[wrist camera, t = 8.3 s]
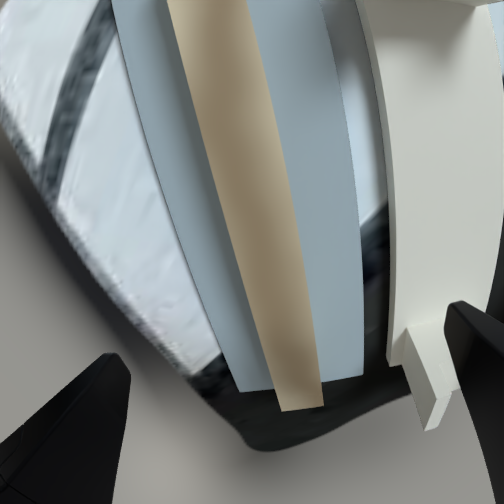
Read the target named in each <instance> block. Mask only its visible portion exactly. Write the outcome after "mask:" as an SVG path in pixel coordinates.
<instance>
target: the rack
mask: <svg viewBox="0 0 504 504" xmlns="http://www.w3.org/2000/svg"><path fill="white" fill-rule="evenodd" d="M500 1H504V0H355V2H356V5H357V9H358V12H359V16H360V20H361V24H362V28H363V32H364V36H365V40H366V45H367V49H368V54H369V58H370V63H371V68H372V73H373V78H374V84H375V89H376V95H377V101H378V108H379V114H380V121H381V129H382V137H383V145H384V154H385V164H386V175H387V188H388V204H389V226H390V299H389V321H388V337H387V350H386V358H387V361H388V364H389V367H392V366H396V365H400V364H402V366H403V369H404V372H405V375H406V378H407V380H408V383H409V386H410V389H411V392H412V395H413V398H414V401H415V404H416V407H417V410H418V413H419V416H420V419H421V422H422V426H423V429H424V431H427V430H430V429H433V428H436V427H438V425H439V423H440V421H441V419H442V416H443V414H444V412H445V409H446V407H447V405H448V402H449V400H450V398H451V395H452V393H451V392H452V391H454V390H458V389H461V388H460V385H459V383H458V379H457V376H456V372H455V369H454V365H453V362H452V358H451V355H450V352H449V348H448V345H447V342H446V339H445V336H444V322H445V317H446V312H447V307H448V305H449V304H450V303H452V302H456V301H460V300H463V301H465V302H467V303H469V304H471V305H472V306H474V307H476V308H478V309H479V310H481V311H483V312H485V311H486V307H487V303H488V299H489V295H490V291H491V286H492V282H493V277H494V272H495V267H496V261H497V256H498V250H499V244H500V237H501V229H502V221H503V212H504V91H503V82H502V74H501V67H500V61H499V55H498V49H497V44H496V39H495V34H494V29H493V25H492V21H491V17H490V13H489V9H488V5H487V4H491V3H495V2H500Z"/></svg>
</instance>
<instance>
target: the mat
mask: <svg viewBox="0 0 504 504" xmlns="http://www.w3.org/2000/svg"><path fill="white" fill-rule="evenodd" d="M111 1H112V6H113V11H114V15H115V20H116V24H117V29H118V33H119V38H120V42H121V46H122V50H123V54H124V58H125V62H126V66H127V70H128V74H129V78H130V82H131V86H132V89H133V93H134V97H135V100H136V104H137V108H138V111H139V115H140V118H141V122H142V125H143V129H144V132H145V136H146V139H147V142H148V146H149V149H150V152H151V155H152V159H153V162H154V165H155V168H156V172H157V175H158V178H159V181H160V184H161V187H162V190H163V193H164V196H165V199H166V202H167V205H168V208H169V211H170V214H171V217H172V220H173V223H174V226H175V229H176V232H177V235H178V237H179V240H180V243H181V246H182V249H183V251H184V254H185V257H186V260H187V262H188V265H189V268H190V271H191V273H192V276H193V279H194V281H195V284H196V287H197V289H198V292H199V294H200V297H201V300H202V302H203V305H204V307H205V310H206V312H207V315H208V318H209V320H210V323H211V325H212V328H213V330H214V332H215V335H216V337H217V340H218V342H219V345H220V347H221V350H222V352H223V354H224V357H225V359H226V361H227V364H228V366H229V369H230V371H231V373H232V376H233V378H234V380H235V382H236V385H237V387H238V389H239V392H247V391H258V390H267V389H275V388H274V384H273V381H272V378H271V375H270V371H269V368H268V365H267V361H266V358H265V355H264V351H263V348H262V345H261V341H260V338H259V335H258V331H257V328H256V325H255V321H254V318H253V314H252V311H251V308H250V304H249V301H248V297H247V294H246V291H245V287H244V284H243V280H242V277H241V273H240V270H239V266H238V263H237V259H236V256H235V252H234V249H233V245H232V242H231V238H230V235H229V231H228V228H227V224H226V221H225V217H224V214H223V210H222V207H221V203H220V199H219V196H218V192H217V189H216V185H215V181H214V178H213V174H212V171H211V167H210V163H209V160H208V156H207V152H206V149H205V145H204V141H203V138H202V134H201V130H200V126H199V123H198V119H197V115H196V111H195V108H194V104H193V100H192V96H191V93H190V89H189V85H188V81H187V77H186V73H185V70H184V66H183V62H182V58H181V54H180V50H179V46H178V42H177V39H176V35H175V31H174V27H173V23H172V19H171V15H170V11H169V7H168V3H167V0H111ZM246 2H247V5H248V9H249V13H250V16H251V20H252V24H253V28H254V31H255V35H256V39H257V43H258V47H259V51H260V55H261V59H262V63H263V67H264V71H265V75H266V79H267V84H268V88H269V92H270V96H271V101H272V105H273V110H274V114H275V118H276V123H277V128H278V132H279V137H280V141H281V146H282V151H283V156H284V161H285V165H286V170H287V175H288V180H289V185H290V191H291V196H292V201H293V206H294V212H295V217H296V223H297V228H298V234H299V239H300V245H301V251H302V257H303V263H304V269H305V275H306V281H307V287H308V293H309V300H310V306H311V313H312V320H313V327H314V334H315V341H316V348H317V355H318V363H319V371H320V379H321V382H326V381H331V380H337V379H343V378H348V377H353V376H358V375H363V360H364V305H363V275H362V256H361V241H360V228H359V216H358V205H357V196H356V186H355V178H354V170H353V162H352V155H351V148H350V141H349V134H348V128H347V122H346V116H345V110H344V105H343V99H342V94H341V89H340V84H339V79H338V74H337V69H336V65H335V60H334V56H333V51H332V47H331V43H330V39H329V35H328V31H327V27H326V23H325V19H324V15H323V12H322V8H321V4H320V1H319V0H246Z"/></svg>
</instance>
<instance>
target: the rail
mask: <svg viewBox="0 0 504 504" xmlns="http://www.w3.org/2000/svg"><path fill="white" fill-rule="evenodd" d="M167 3H168V7H169V11H170V15H171V19H172V23H173V27H174V31H175V35H176V39H177V42H178V46H179V50H180V54H181V58H182V62H183V66H184V70H185V73H186V77H187V81H188V85H189V89H190V93H191V96H192V100H193V104H194V108H195V111H196V115H197V119H198V123H199V126H200V130H201V134H202V138H203V141H204V145H205V149H206V152H207V156H208V160H209V163H210V167H211V171H212V174H213V178H214V181H215V185H216V189H217V192H218V196H219V199H220V203H221V207H222V210H223V214H224V217H225V221H226V224H227V228H228V231H229V235H230V238H231V242H232V245H233V249H234V252H235V256H236V259H237V263H238V266H239V270H240V273H241V277H242V280H243V284H244V287H245V291H246V294H247V297H248V301H249V304H250V308H251V311H252V314H253V318H254V321H255V325H256V328H257V331H258V335H259V338H260V341H261V345H262V348H263V351H264V355H265V358H266V361H267V365H268V368H269V371H270V375H271V378H272V381H273V384H274V388H275V391H276V394H277V398H278V401H279V404H280V407H281V411H289V410H297V409H305V408H312V407H319V406H324V404H323V395H322V387H321V379H320V371H319V363H318V355H317V348H316V341H315V334H314V327H313V320H312V313H311V306H310V300H309V293H308V287H307V281H306V275H305V269H304V263H303V257H302V251H301V245H300V239H299V234H298V228H297V223H296V217H295V212H294V206H293V201H292V196H291V191H290V185H289V180H288V175H287V170H286V165H285V161H284V156H283V151H282V146H281V141H280V137H279V132H278V128H277V123H276V118H275V114H274V110H273V105H272V101H271V96H270V92H269V88H268V84H267V79H266V75H265V71H264V67H263V63H262V59H261V55H260V51H259V47H258V43H257V39H256V35H255V31H254V28H253V24H252V20H251V16H250V13H249V9H248V5H247V2H246V0H167Z"/></svg>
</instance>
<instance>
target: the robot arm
mask: <svg viewBox="0 0 504 504" xmlns="http://www.w3.org/2000/svg"><path fill="white" fill-rule="evenodd" d="M444 336H445V339H446V342H447V345H448V348H449V352H450V355H451V358H452V362H453V365H454V369H455V372H456V376H457V379H458V383H459V385H460V388H461V390H462V393H463V396H464V399H465V401H466V404H467V407H468V410H469V412H470V415H471V418H472V421H473V424H474V427H475V430H476V432H477V436H478V439H479V442H480V445H481V449H482V451H483V455H484V459H485V462H486V466H487V469H488V473H489V477H490V481H491V485H492V489H493V493H494V498H495V502H496V504H504V324H503V323H501V322H500V321H498V320H496V319H495V318H493V317H491V316H490V315H488V314H486V313H485V312H483V311H481V310H479V309H478V308H476V307H474V306H472V305H471V304H469V303H467V302H465V301H463V300H460V301H456V302H452V303H450V304H449V305H448V307H447V312H446V317H445V322H444ZM130 384H131V374H130V371H129V370H128V368H127V367H126V365H125V364H124V362H123V361H122V359H121V357H120V356H119V355H118V354H117V353H104V354H102V355H101V356H100V357H99V358H98V359H97V360H95V361H94V362H93V363H92V364H91V365H90V366H88V367H87V368H86V369H85V370H84V371H83V372H81V373H80V374H79V375H78V376H77V377H76V378H75V379H74V380H72V381H71V382H70V383H69V384H68V385H67V386H65V387H64V388H63V389H62V390H61V391H60V392H59V393H57V394H56V395H55V396H54V397H53V398H52V399H51V400H49V401H48V402H47V403H46V404H45V405H44V406H43V407H42V408H40V409H39V410H38V411H37V412H36V413H35V414H34V415H33V416H31V417H30V418H29V419H28V420H27V421H26V422H25V423H24V425H21V426H20V427H19V428H18V429H17V430H16V431H15V432H13V433H12V434H11V435H10V436H9V437H8V438H6V439H5V440H4V441H3V442H2V443H0V504H112V500H113V493H114V486H115V480H116V474H117V469H118V463H119V457H120V452H121V447H122V441H123V436H124V431H125V426H126V419H127V410H128V400H129V392H130Z"/></svg>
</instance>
